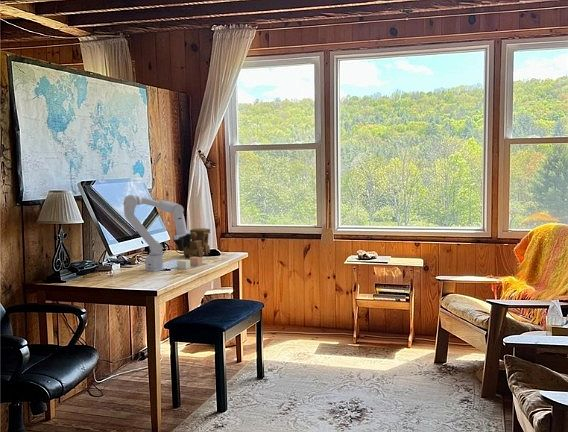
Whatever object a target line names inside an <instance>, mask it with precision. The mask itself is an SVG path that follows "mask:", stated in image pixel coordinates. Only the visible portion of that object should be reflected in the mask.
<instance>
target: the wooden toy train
mask: <svg viewBox="0 0 568 432" xmlns="http://www.w3.org/2000/svg"><path fill="white" fill-rule="evenodd" d="M189 230H190V234H192V237H191V244H190V248H186V246H185V247H184V251H183V256H184V257H185V258H190V256H196V257H202V258H203V256H204V255H205V256H209V254H210V252H211V247H210V245H209V235H210V233H211V229H210V228H205V227H204V228H202V227H200V228H198V227H197V228H193V229H189ZM208 253H209V254H208Z"/></svg>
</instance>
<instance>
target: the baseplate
mask: <svg viewBox="0 0 568 432" xmlns="http://www.w3.org/2000/svg"><path fill="white" fill-rule="evenodd" d="M188 258H189V259H188V260H190V268H187V269H184V268H177V266H174V267H175V268H174V267H170V269H173V270H180V271H181V270H182V271H183V270H184V271H188V270H191V269H192V270H193V269H195V268H199V267H203V266H207V265H208V263H203V256H202V257H198V256H191V257H190V256H189V257H188Z"/></svg>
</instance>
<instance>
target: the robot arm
mask: <svg viewBox="0 0 568 432" xmlns="http://www.w3.org/2000/svg"><path fill="white" fill-rule="evenodd" d="M137 205H138V206H140V205H146V206H147V205H148V206H152V207H156V208H157V209H158V210H159V211H161V212H167V213H168V214H169V213H170V214H171V213H172V214H173V220H174V227H175V232H176V234H175V235H173V242H174V243H175V245H176V246H177V248H178V250H179V252H184V248H185V247H186V248H190V244H191V241H192V240H191V237H192V234H190V230H191V229H189V230H187V224H186V219H185V216H184V215H185V214H184V211H185V208H184V207H183V205H181V204H179V203H176V202H175V201H173V202H171V201H168V200H167V199H162V200H159V201H157V200H155V199H152V198H147V197H144V196H139V195H135V196H134V195H132V194H128V195H127V196H125V198H124V200H123V214H124V217H125V219H126V220H127V221H128V222H129V223H130V225H131V226H132V227H133V229H135V231H136V232H137V233H138V235H140V237H141V238H142V239H143V240H144V242H145V243H146V244H147V246H148V248H149V253H148V256H146V257H145V259H144V261H145V266H144V267H145V271H148V272H159V271H163V270H166V269H167V268H166V267H164V257H163V256H164V255H163V254H164V253H163V250H164V249H163V248H164V247H163V245H162V244H161V243H160V241H158V240H156V239H155V238H154V237H153V236H152V234H151V233H150V232H149V231H148V230H147V228H146V227H145V226H144V225H143V224H142V223H141V221H140V220H139V219H138V217H136V215H135V211H136V207H137ZM184 245H185V247H184Z"/></svg>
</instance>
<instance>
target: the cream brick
mask: <svg viewBox="0 0 568 432" xmlns="http://www.w3.org/2000/svg"><path fill="white" fill-rule="evenodd" d="M176 264H177V266H176V267H177V268H184V269H187V268H190V260H189V259H178V260H177V261H176Z"/></svg>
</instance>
